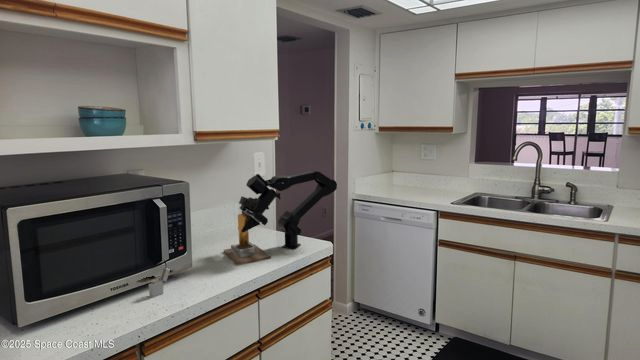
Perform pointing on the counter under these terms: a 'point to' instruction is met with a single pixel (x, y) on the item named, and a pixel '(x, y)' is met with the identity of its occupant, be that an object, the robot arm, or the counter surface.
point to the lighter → (158, 284)
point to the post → (243, 235)
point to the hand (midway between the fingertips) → (240, 230)
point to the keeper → (246, 254)
